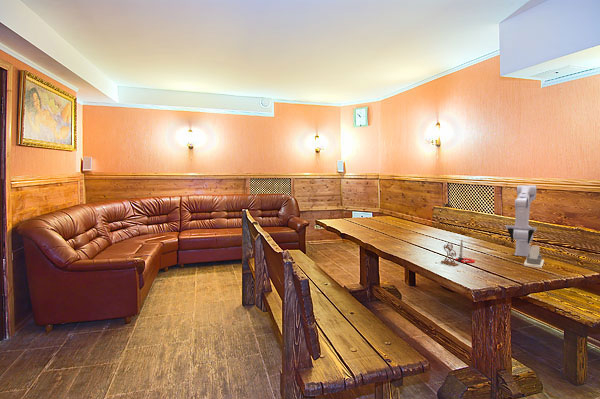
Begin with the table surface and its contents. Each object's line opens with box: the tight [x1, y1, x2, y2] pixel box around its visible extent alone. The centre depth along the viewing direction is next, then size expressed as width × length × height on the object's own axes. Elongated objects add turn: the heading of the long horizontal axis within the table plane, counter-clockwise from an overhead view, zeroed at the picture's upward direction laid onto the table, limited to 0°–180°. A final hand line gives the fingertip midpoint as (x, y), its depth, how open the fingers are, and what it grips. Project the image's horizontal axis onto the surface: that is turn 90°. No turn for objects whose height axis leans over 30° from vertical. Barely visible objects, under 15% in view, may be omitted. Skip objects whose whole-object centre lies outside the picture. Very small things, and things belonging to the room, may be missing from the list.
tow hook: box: [454, 239, 476, 264], centre depth 188 cm, size 8×13×9 cm
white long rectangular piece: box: [530, 244, 540, 259], centre depth 181 cm, size 12×4×5 cm, turn 140°
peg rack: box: [523, 254, 545, 269], centre depth 181 cm, size 16×8×4 cm, turn 140°
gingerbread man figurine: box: [440, 242, 460, 267], centre depth 183 cm, size 9×4×12 cm, turn 26°
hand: (520, 242), depth 187 cm, fingers open, 7 cm apart
